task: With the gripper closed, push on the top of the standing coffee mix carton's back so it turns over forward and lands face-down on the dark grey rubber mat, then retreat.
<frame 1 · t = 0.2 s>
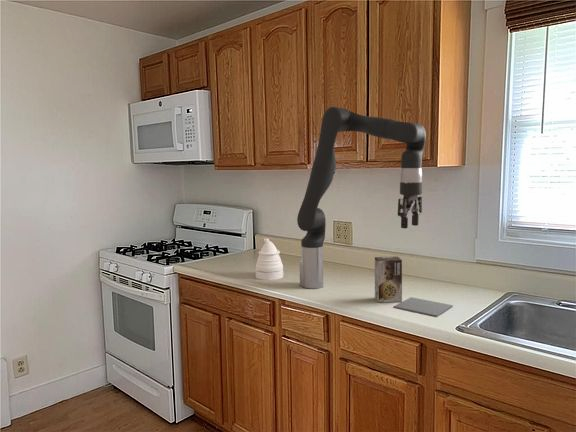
hand: (409, 226, 157), 29 cm above the worktop, tool pointing down, fingers open, 8 cm apart
mat: (423, 307, 159), on the worktop
coffee box: (387, 300, 168), on the worktop
honey pot: (269, 276, 206), on the worktop
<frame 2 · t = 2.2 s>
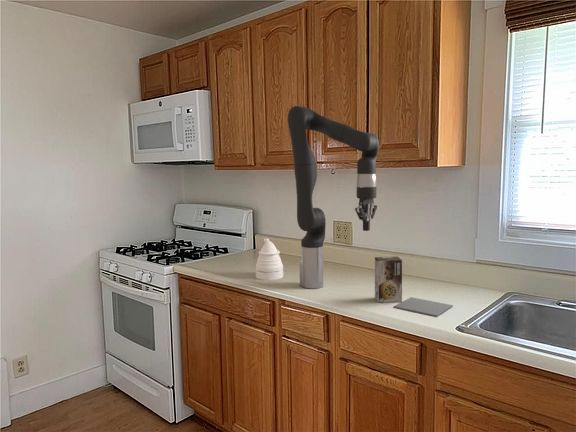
hand: (366, 230, 171), 26 cm above the worktop, tool pointing down, fingers closed
nothing on the worktop moved.
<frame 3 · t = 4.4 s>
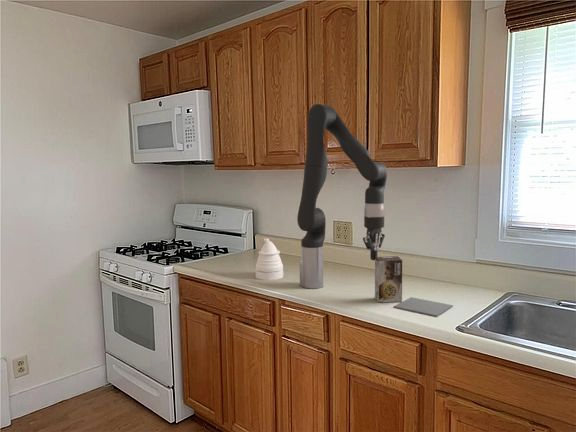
hand: (373, 259, 170), 15 cm above the worktop, tool pointing down, fingers closed
coffee box: (387, 300, 168), on the worktop, touching gripper
everything else where it was.
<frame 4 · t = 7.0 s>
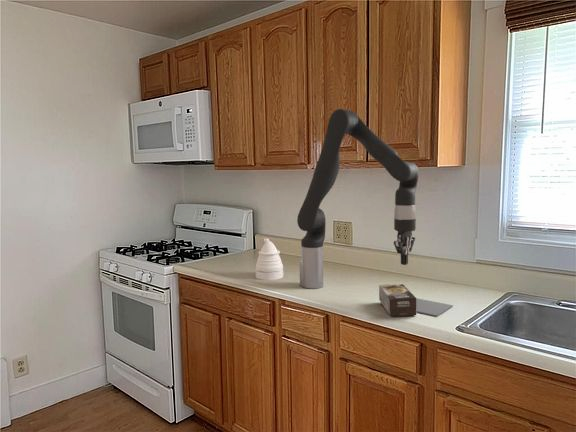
hand: (404, 264, 162), 15 cm above the worktop, tool pointing down, fingers closed
coffee box: (390, 291, 164), point 4 cm above the worktop, touching mat
everything else where it was.
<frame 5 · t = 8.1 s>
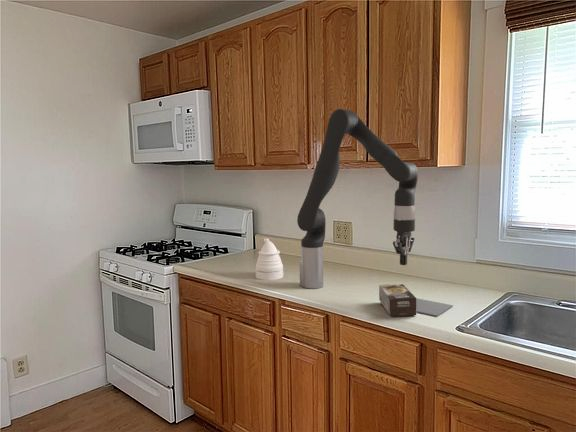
hand: (403, 264, 162), 14 cm above the worktop, tool pointing down, fingers closed
nothing on the worktop moved.
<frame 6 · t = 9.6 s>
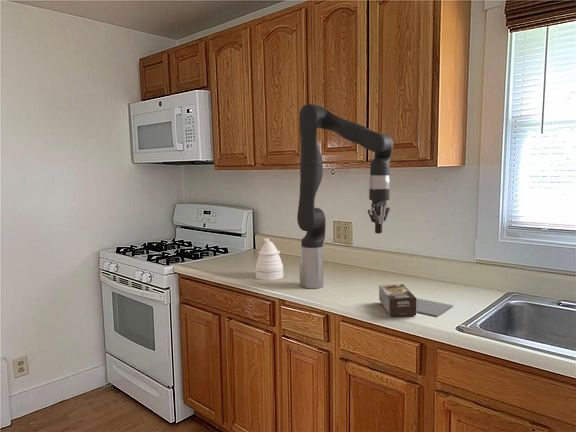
hand: (378, 233, 168), 25 cm above the worktop, tool pointing down, fingers closed
nothing on the worktop moved.
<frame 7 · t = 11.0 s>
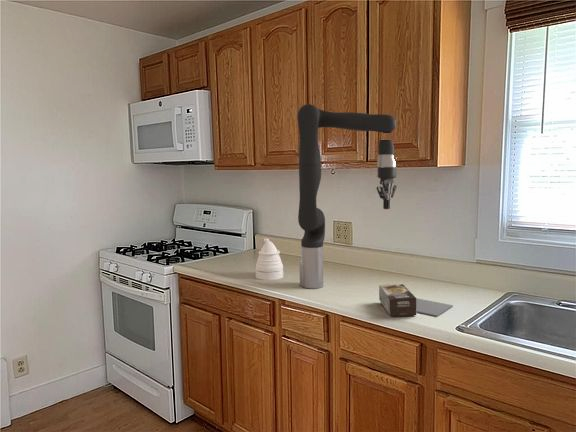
hand: (386, 208, 180), 33 cm above the worktop, tool pointing down, fingers closed
nothing on the worktop moved.
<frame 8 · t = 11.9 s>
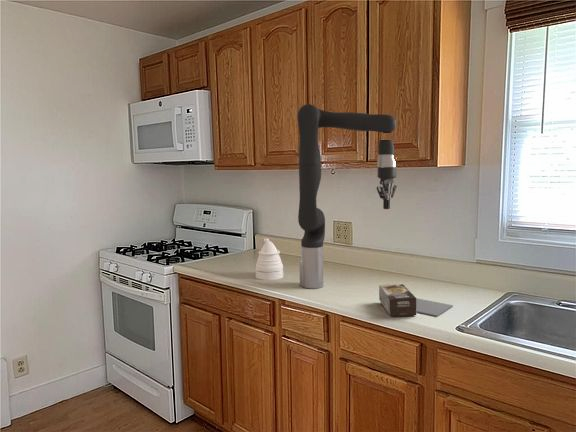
hand: (386, 208, 180), 33 cm above the worktop, tool pointing down, fingers closed
nothing on the worktop moved.
at the end: coffee box tilted 93°; coffee box inside the target area (11.0 cm from its centre), point 4.0 cm above the worktop; coffee box touching mat, worktop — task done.
